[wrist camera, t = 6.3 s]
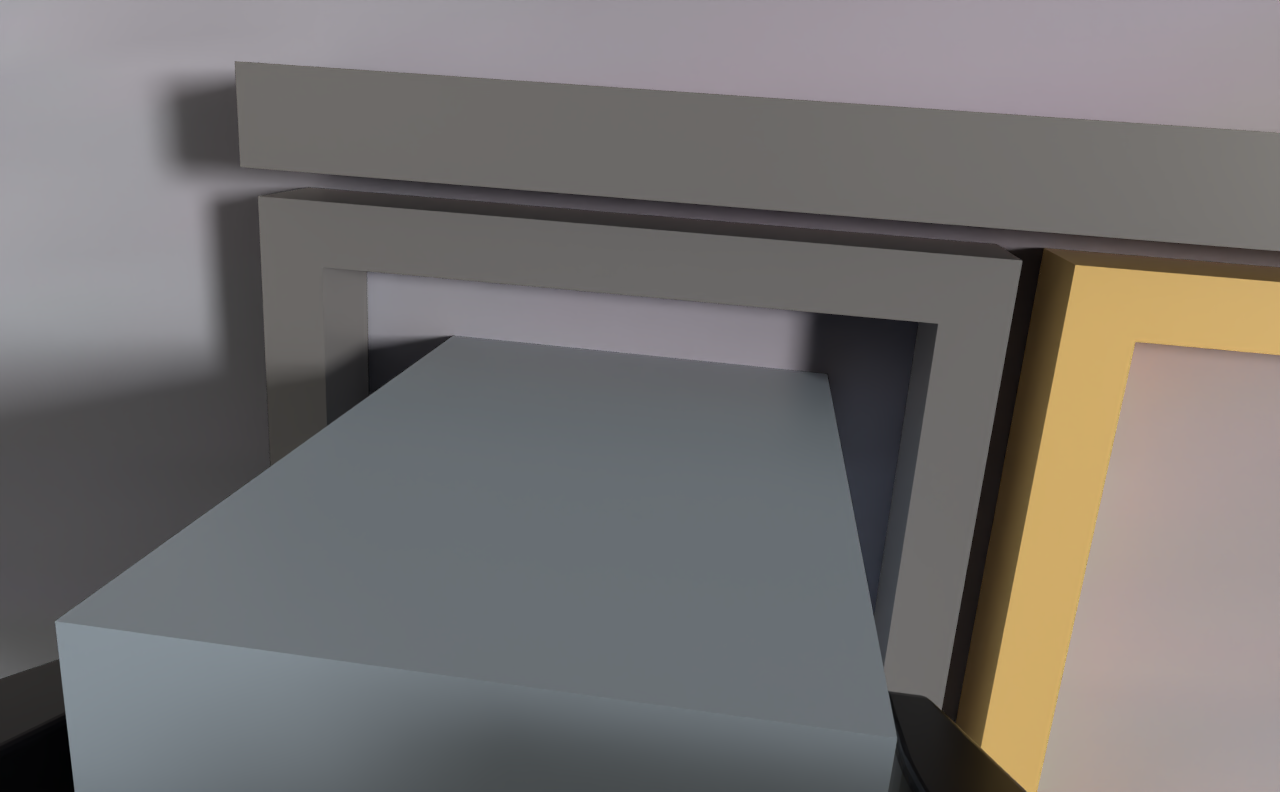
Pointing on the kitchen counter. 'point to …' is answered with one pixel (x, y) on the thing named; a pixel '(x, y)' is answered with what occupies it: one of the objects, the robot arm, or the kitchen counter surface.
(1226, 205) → the cubby shelf with drawer
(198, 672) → the blue-grey box
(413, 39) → the kitchen counter surface
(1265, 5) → the kitchen counter surface
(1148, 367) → the kitchen counter surface
